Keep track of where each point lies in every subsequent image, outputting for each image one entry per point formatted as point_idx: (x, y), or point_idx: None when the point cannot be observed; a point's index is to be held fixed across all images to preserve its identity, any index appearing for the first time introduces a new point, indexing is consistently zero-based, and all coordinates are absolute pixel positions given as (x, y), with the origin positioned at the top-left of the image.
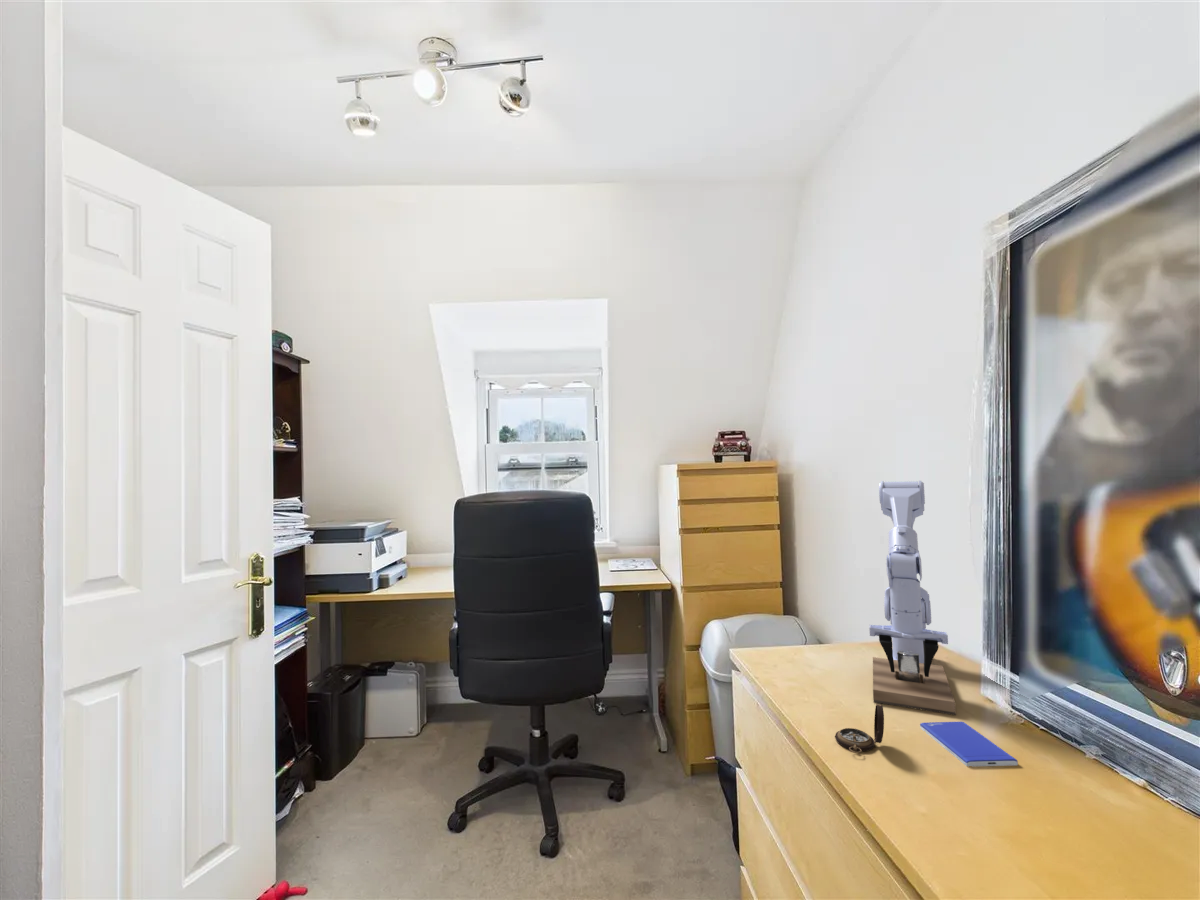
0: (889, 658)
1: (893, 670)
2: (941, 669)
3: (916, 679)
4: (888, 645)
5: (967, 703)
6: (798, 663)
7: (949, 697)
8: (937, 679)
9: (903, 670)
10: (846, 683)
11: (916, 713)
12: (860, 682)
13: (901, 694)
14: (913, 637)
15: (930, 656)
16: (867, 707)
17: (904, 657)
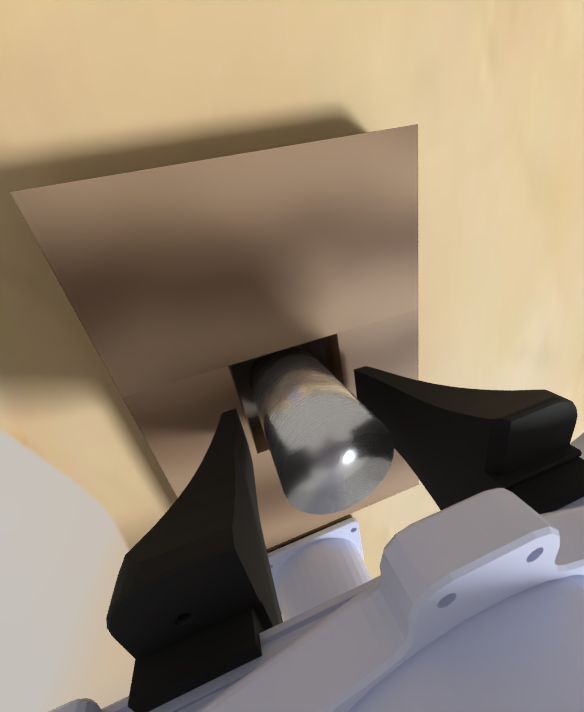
0: (412, 383)
1: (361, 370)
2: None
3: (265, 376)
4: (496, 405)
5: (69, 378)
6: (570, 353)
7: (67, 250)
8: (195, 445)
9: (325, 375)
10: (464, 285)
11: (208, 111)
12: (425, 324)
13: (293, 146)
14: (395, 562)
15: (199, 487)
16: (399, 56)
17: (350, 408)
